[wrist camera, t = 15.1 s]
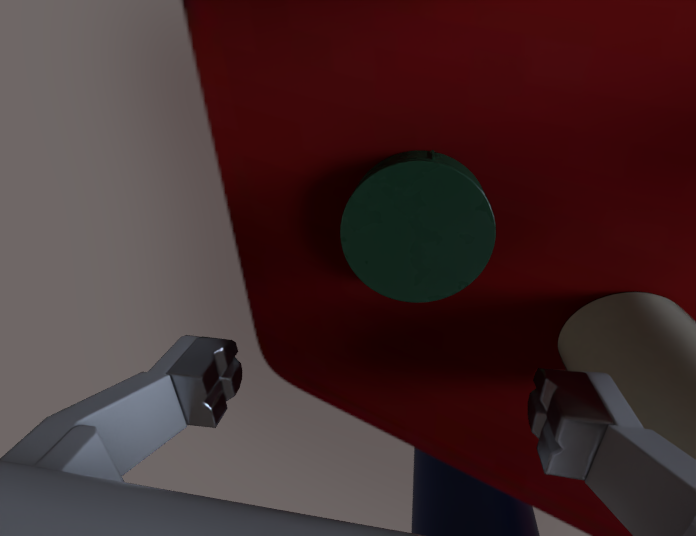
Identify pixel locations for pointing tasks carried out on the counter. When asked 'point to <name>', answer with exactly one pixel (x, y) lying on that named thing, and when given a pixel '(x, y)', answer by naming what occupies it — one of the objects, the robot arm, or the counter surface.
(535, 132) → the counter surface
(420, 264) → the lid
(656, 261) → the counter surface
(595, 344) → the white jar
